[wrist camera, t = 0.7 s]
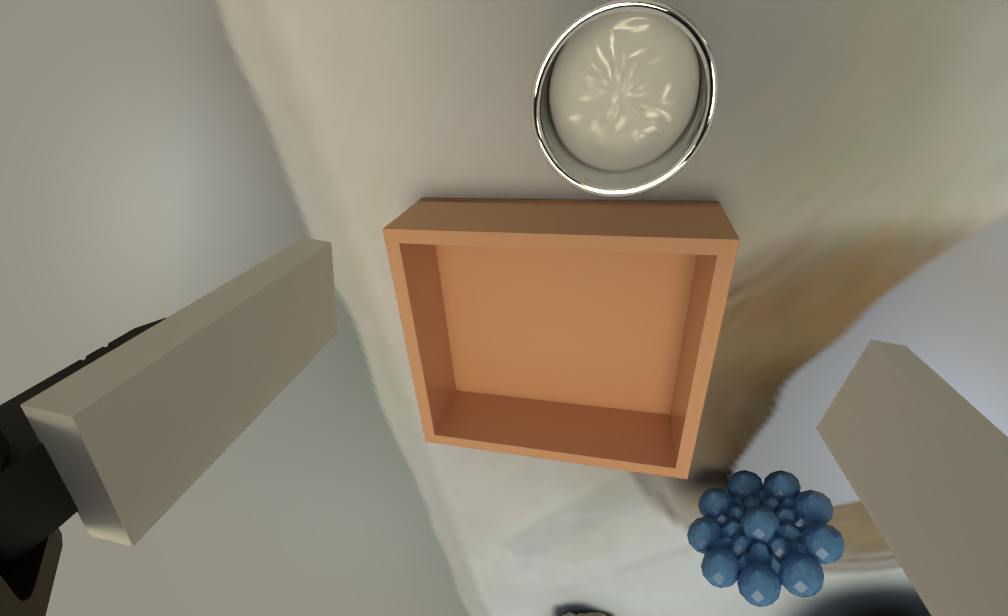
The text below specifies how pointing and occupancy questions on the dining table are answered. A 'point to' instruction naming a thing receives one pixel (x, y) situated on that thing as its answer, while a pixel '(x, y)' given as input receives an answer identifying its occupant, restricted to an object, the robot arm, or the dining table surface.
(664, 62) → the beer glass
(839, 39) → the dining table surface
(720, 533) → the grapes
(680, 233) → the open box
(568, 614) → the seashell
